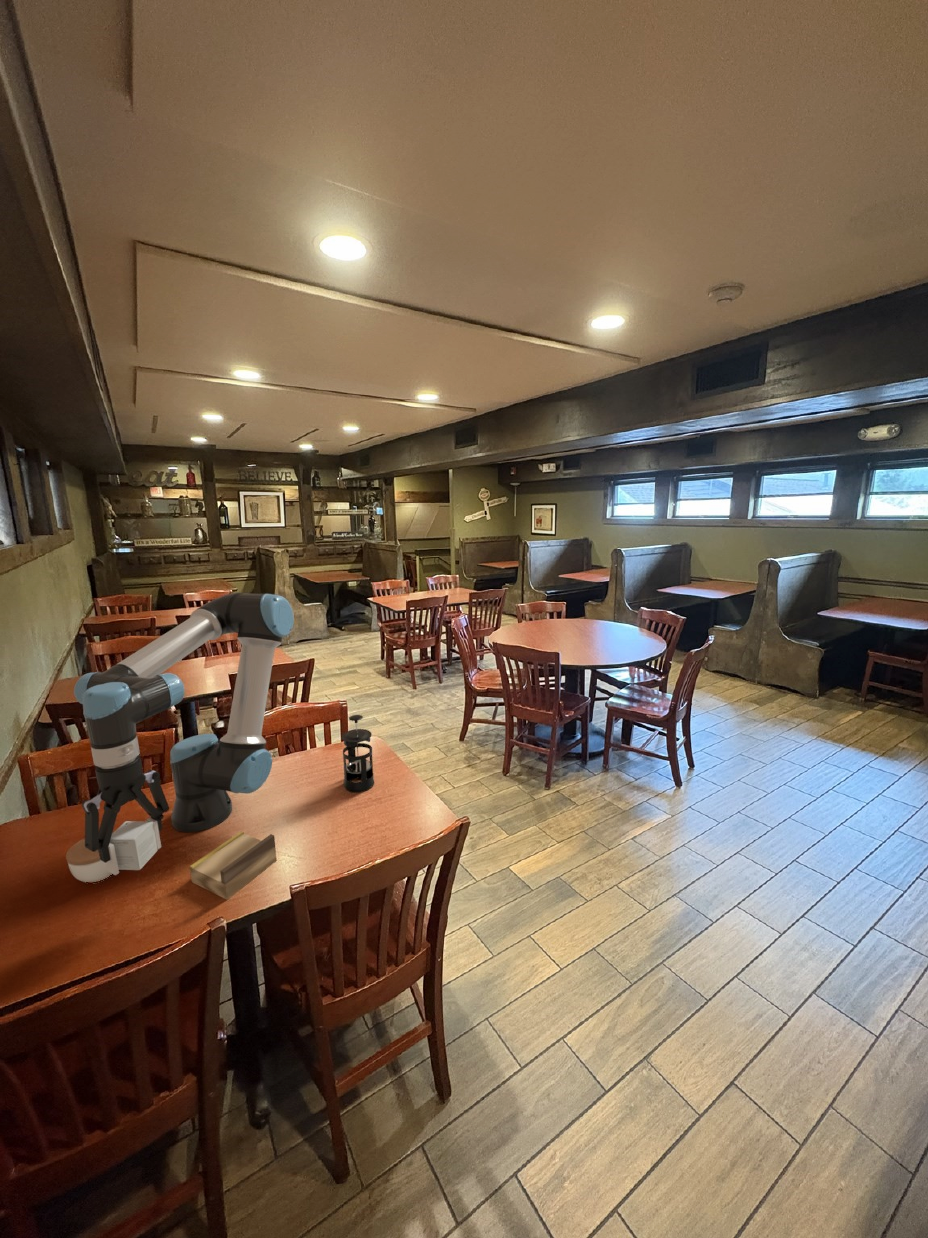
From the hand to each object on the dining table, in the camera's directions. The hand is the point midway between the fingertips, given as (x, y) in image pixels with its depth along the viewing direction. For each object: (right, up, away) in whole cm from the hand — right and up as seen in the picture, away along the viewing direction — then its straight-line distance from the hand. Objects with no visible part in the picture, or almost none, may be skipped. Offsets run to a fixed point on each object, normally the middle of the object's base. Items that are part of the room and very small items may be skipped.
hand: (135, 858), depth 102 cm
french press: (+36, -2, +52) cm, 63 cm away
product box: (0, -1, 0) cm, 1 cm away
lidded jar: (-17, -11, +13) cm, 24 cm away
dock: (+14, -10, +14) cm, 23 cm away
